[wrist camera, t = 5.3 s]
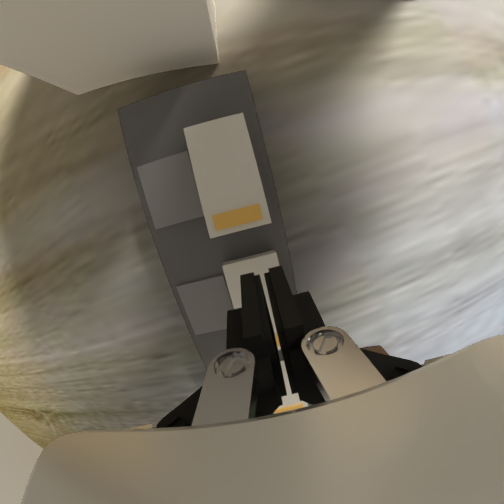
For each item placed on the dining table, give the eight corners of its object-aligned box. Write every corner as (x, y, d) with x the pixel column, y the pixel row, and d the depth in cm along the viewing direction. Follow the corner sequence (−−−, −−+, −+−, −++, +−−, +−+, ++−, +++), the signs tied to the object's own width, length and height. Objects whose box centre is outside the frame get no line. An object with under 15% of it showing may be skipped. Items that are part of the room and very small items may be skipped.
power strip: (137, 116, 18) (116, 109, 14) (242, 85, 18) (245, 69, 14) (241, 412, 29) (243, 441, 25) (310, 397, 28) (319, 425, 25)
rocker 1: (188, 135, 15) (182, 127, 13) (243, 120, 15) (242, 111, 13) (213, 236, 16) (209, 238, 14) (269, 222, 16) (272, 223, 14)
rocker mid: (223, 262, 18) (221, 266, 16) (273, 249, 18) (276, 252, 16) (247, 347, 18) (247, 358, 17) (294, 336, 18) (297, 345, 17)
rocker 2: (254, 367, 19) (257, 384, 18) (298, 356, 19) (303, 373, 18) (268, 402, 22) (271, 416, 21) (304, 393, 22) (308, 407, 21)
